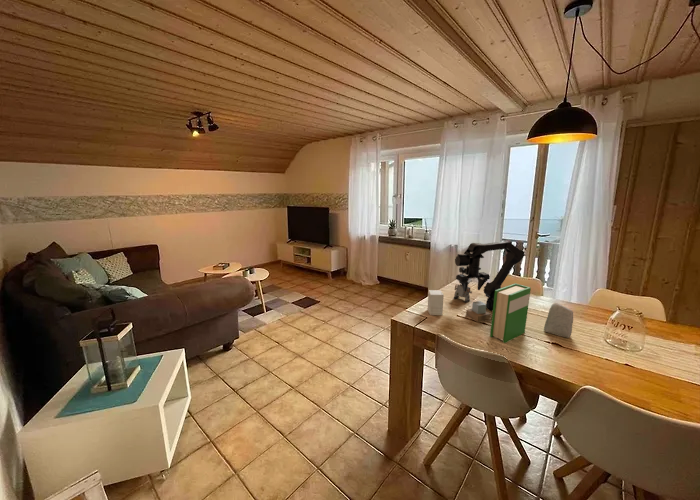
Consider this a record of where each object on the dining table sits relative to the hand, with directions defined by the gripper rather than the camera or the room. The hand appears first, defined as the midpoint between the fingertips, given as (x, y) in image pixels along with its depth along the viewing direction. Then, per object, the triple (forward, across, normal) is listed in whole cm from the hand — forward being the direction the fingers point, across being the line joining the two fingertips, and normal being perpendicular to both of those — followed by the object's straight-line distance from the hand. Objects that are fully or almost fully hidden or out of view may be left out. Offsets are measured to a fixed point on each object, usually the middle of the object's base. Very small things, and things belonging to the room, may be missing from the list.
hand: (471, 290), depth 165 cm
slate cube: (+8, +2, +10) cm, 13 cm away
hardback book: (+12, 0, +29) cm, 32 cm away
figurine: (+12, -6, -15) cm, 20 cm away
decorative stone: (+12, -24, +35) cm, 44 cm away
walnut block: (+12, +2, +10) cm, 16 cm away
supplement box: (+12, +22, -2) cm, 25 cm away
